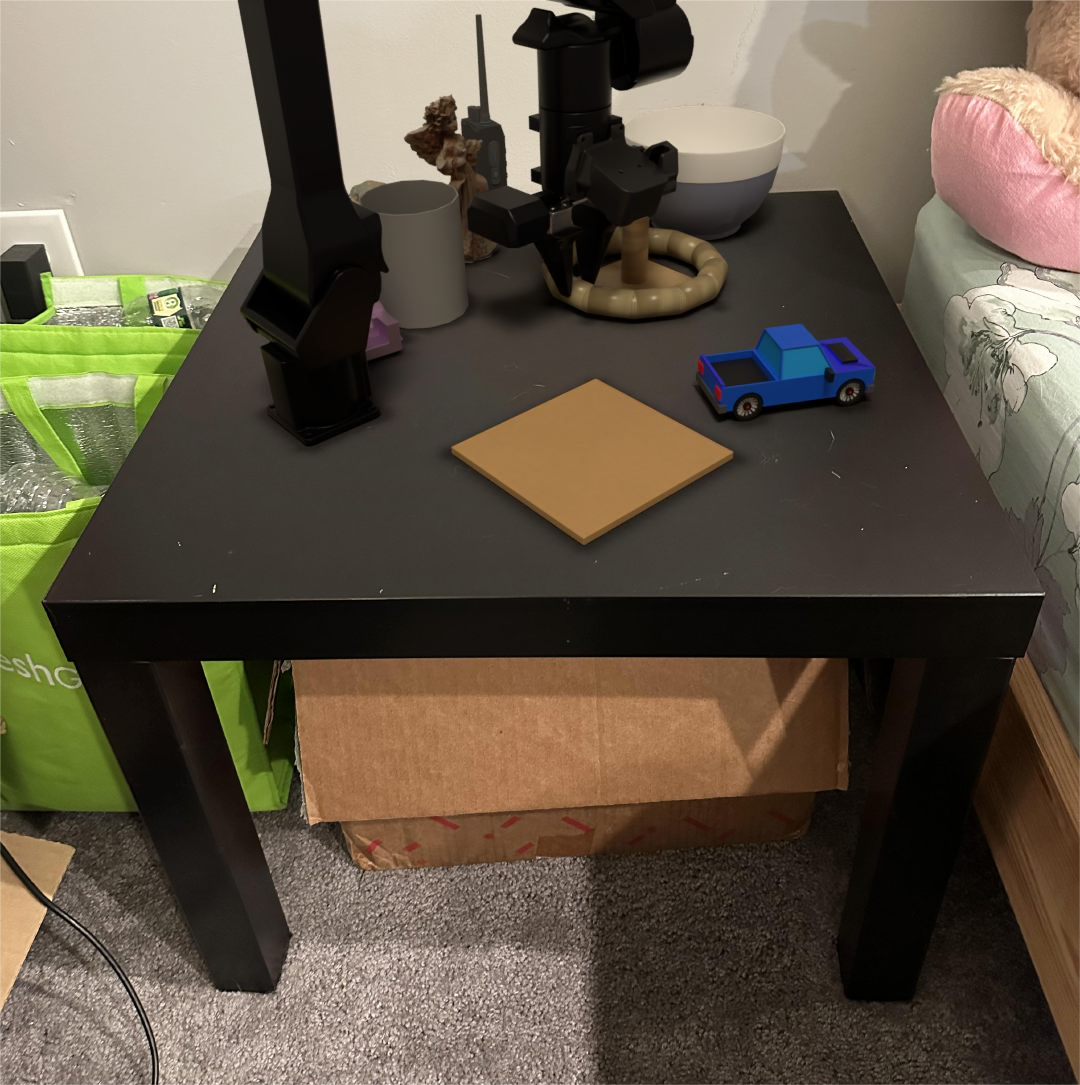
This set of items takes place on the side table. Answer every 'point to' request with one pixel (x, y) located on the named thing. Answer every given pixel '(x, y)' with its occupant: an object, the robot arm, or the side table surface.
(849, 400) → the toy car
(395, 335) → the purple jagged faceted chunk
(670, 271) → the ring toss peg
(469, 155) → the figurine
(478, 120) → the walkie-talkie
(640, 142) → the bowl
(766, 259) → the side table surface
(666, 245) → the segmented tan ring
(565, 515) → the mat
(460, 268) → the cup
